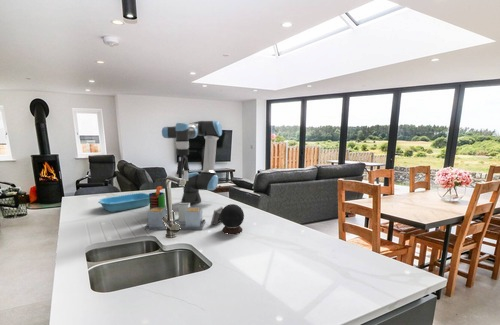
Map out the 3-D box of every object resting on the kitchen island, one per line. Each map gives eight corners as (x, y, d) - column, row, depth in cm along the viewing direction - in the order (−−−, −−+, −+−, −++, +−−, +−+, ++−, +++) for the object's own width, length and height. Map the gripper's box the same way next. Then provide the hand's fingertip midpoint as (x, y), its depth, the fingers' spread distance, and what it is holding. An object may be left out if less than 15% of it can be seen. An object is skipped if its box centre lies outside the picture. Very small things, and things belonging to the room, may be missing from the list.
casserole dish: (145, 199, 214) (144, 190, 213) (158, 204, 199) (157, 195, 198) (94, 208, 188) (93, 199, 187) (104, 216, 172) (104, 205, 172)
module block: (180, 218, 168) (180, 201, 167) (190, 218, 168) (189, 201, 167) (178, 221, 162) (178, 204, 161) (188, 221, 162) (188, 204, 161)
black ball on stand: (215, 230, 147) (215, 204, 145) (233, 224, 156) (233, 200, 154) (231, 237, 137) (230, 209, 136) (248, 230, 147) (248, 204, 145)
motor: (146, 218, 166) (145, 187, 164) (156, 214, 175) (154, 185, 172) (160, 220, 163) (158, 189, 161) (169, 216, 171) (167, 186, 169)
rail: (152, 223, 158) (151, 205, 157) (205, 222, 159) (204, 205, 158) (145, 229, 148) (144, 211, 146) (202, 229, 148) (201, 211, 147)
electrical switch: (218, 219, 165) (219, 205, 163) (225, 221, 163) (226, 207, 161) (210, 224, 156) (211, 209, 155) (218, 226, 154) (219, 211, 153)
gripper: (181, 147, 172) (182, 179, 175) (170, 149, 147) (171, 186, 150) (192, 147, 172) (193, 179, 175) (184, 149, 148) (184, 186, 150)
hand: (183, 182), depth 162 cm, fingers open, 13 cm apart
